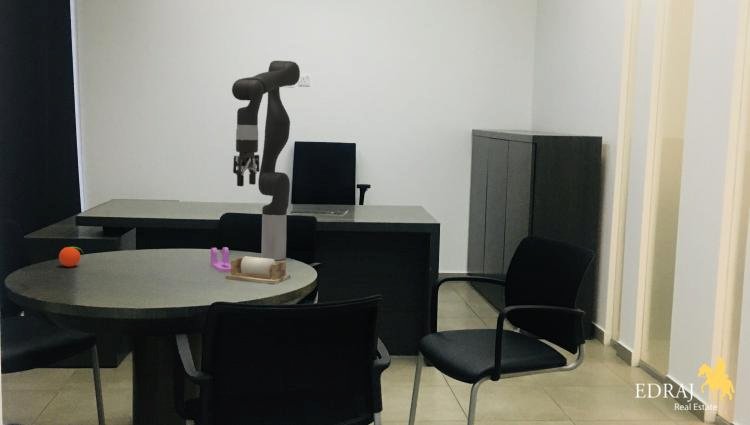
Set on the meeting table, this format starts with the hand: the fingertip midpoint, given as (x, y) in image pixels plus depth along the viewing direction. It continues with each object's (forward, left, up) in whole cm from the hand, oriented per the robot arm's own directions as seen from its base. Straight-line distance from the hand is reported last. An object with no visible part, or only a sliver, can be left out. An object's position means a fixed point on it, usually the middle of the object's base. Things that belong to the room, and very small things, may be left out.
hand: (246, 185), depth 264 cm
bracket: (+1, -8, -30) cm, 32 cm away
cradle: (+9, +10, -30) cm, 33 cm away
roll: (+9, +10, -29) cm, 32 cm away
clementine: (+23, -55, -30) cm, 67 cm away
